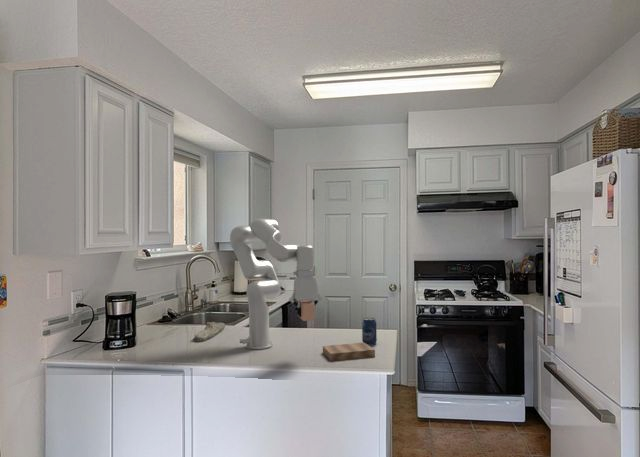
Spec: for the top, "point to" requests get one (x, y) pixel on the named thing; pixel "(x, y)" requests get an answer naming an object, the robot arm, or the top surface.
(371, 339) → the soda can
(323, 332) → the top surface
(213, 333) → the elongated rock
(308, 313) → the terracotta block
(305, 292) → the robot arm
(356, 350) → the walnut stand
